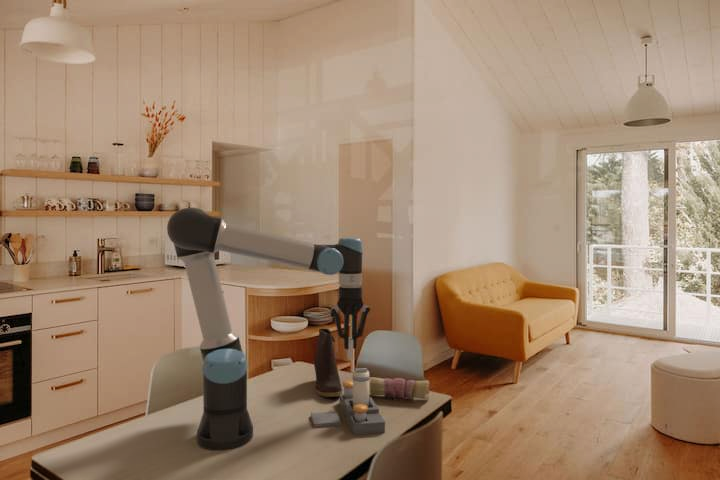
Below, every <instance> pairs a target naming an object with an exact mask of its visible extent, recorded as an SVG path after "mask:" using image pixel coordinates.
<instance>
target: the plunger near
mask: <svg viewBox="0 0 720 480" xmlns="http://www.w3.org/2000/svg"><path fill="white" fill-rule="evenodd" d="M367 410H368V407H367V406H366V405H363V404H357V405H354V406H353V411H355V422H363V421H366V411H367Z"/></svg>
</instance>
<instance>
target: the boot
mask: <svg viewBox="0 0 720 480" xmlns="http://www.w3.org/2000/svg"><path fill="white" fill-rule="evenodd" d="M335 342H336V340H335V338H334V335H333V333H332V331H331V330H330V329H329V328H319V329H318V338H317V346H316V347H317V348H316V353H315V356H314V358H313V361H314V364H313V365H314V366H313V367H314V371H315V391H316V393H317V394H318V395H320V396H322V397H324V398H325V397H326V398H332V397H340V394H343V386H342V383H341V377H340V376H339V375H340V374H339V370H338V364H337V360H336V353H335V347H334V343H335Z"/></svg>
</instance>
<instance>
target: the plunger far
mask: <svg viewBox="0 0 720 480" xmlns="http://www.w3.org/2000/svg"><path fill="white" fill-rule="evenodd" d="M342 387H343V388H344V389H343V394H344V398H345V399H351V398H353V380H345V381H342Z"/></svg>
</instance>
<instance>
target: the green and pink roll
mask: <svg viewBox="0 0 720 480" xmlns="http://www.w3.org/2000/svg"><path fill="white" fill-rule="evenodd" d="M429 387H430V381H429V380H414V379H411V380H410V379H409V380H406V379H405V378H402V377H401V378H400V377H394V379H392V378H388V377H385V378H382V377H376V376H375V377H373V376H371V377H370V378H369V397H372V396H384V398H392V400H394V401H397V402H402V401H405V400H407V399H411V400H414V398H415V399H418V400H419V399H420V400H427V401H428V400H429V398H430V390H429Z"/></svg>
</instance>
